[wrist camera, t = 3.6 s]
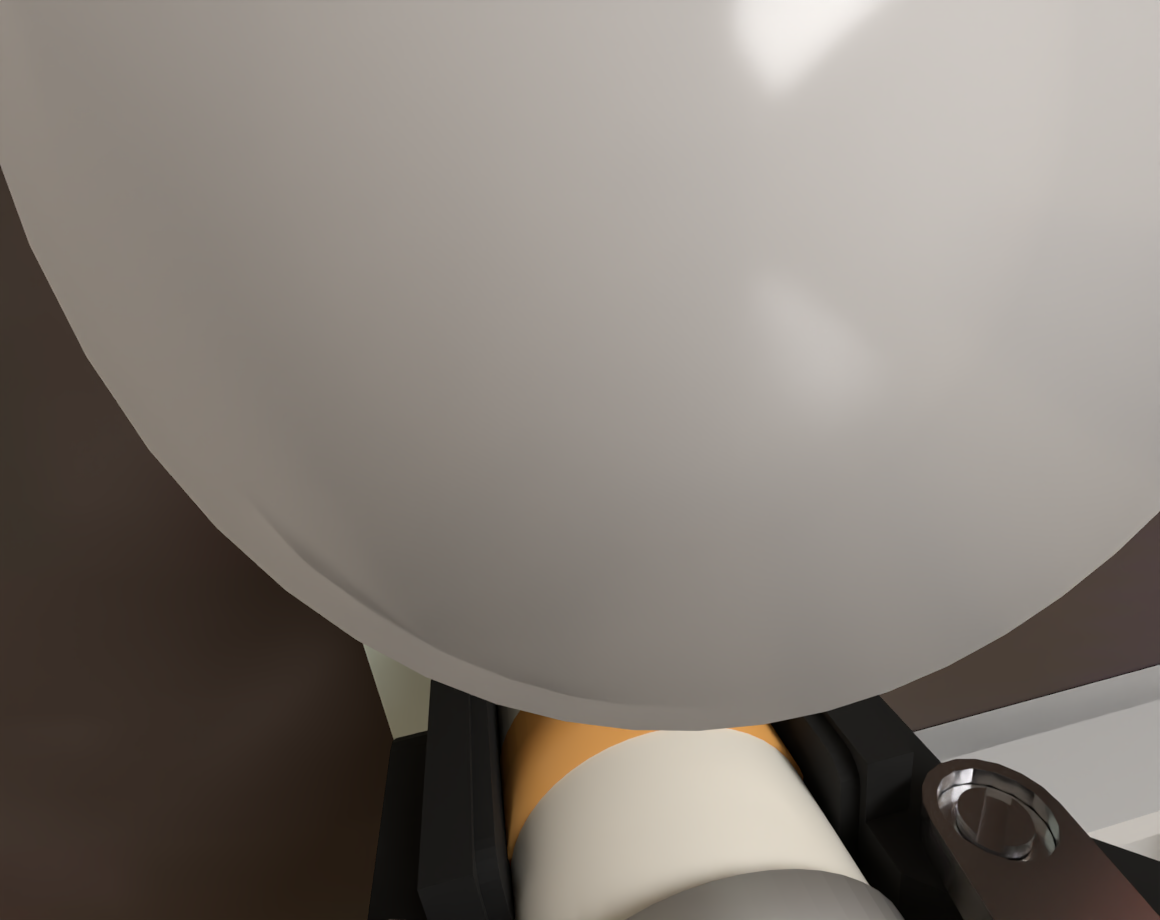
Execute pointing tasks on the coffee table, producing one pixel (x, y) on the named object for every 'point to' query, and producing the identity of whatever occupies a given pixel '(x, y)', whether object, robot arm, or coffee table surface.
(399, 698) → the board
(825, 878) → the marked fuse
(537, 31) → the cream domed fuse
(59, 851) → the coffee table surface
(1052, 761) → the tray
